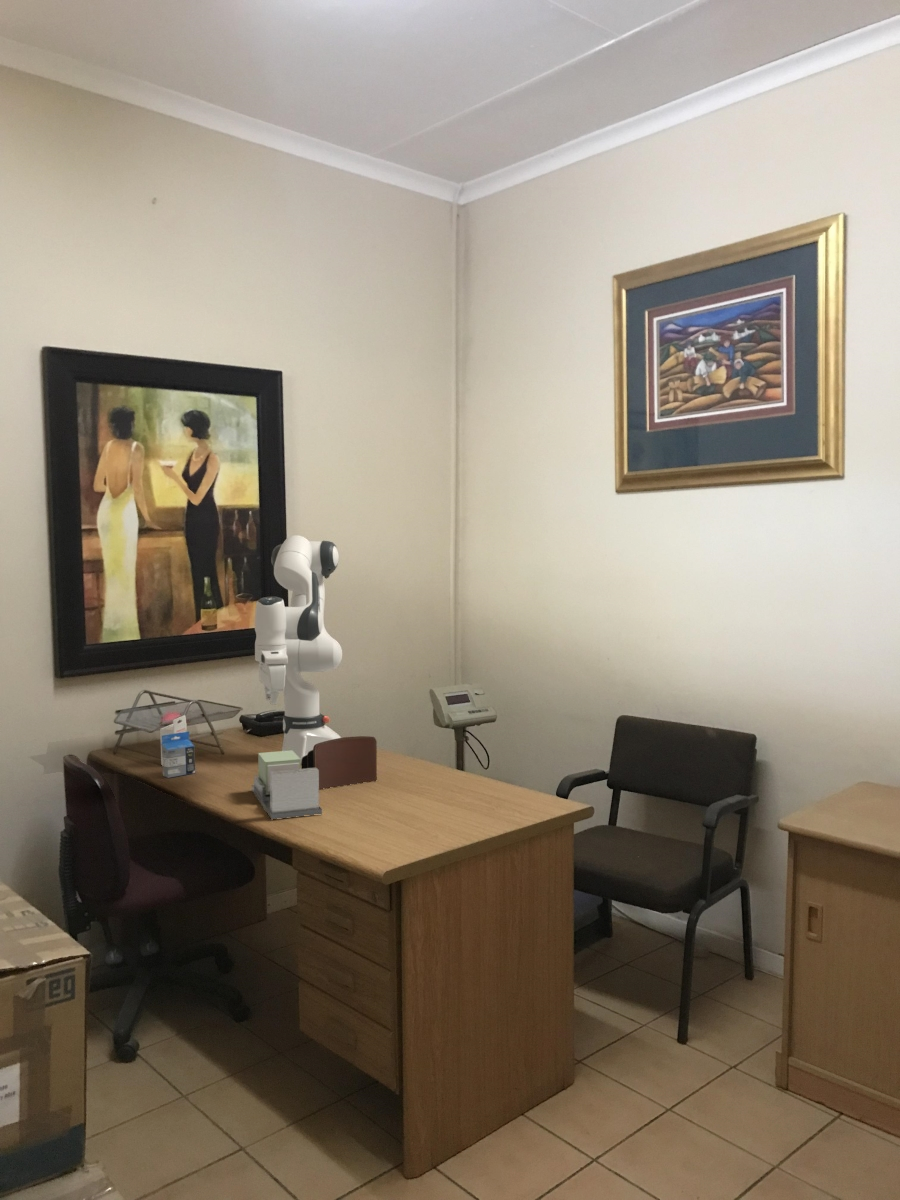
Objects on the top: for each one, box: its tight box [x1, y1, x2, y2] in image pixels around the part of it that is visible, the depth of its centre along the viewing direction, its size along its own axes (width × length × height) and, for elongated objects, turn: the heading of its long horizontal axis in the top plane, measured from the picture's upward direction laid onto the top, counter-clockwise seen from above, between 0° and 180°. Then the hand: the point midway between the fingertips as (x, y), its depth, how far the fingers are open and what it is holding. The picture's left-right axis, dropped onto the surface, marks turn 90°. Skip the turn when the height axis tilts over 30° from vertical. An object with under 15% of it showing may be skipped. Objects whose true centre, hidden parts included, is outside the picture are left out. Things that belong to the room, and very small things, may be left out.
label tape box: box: [161, 730, 196, 779], centre depth 282 cm, size 9×4×12 cm, turn 131°
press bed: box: [251, 768, 323, 820], centre depth 254 cm, size 29×13×12 cm, turn 21°
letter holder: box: [301, 735, 378, 790], centre depth 274 cm, size 10×20×14 cm, turn 121°
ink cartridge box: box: [159, 714, 188, 765], centre depth 295 cm, size 9×5×15 cm, turn 168°
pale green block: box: [257, 750, 302, 795], centre depth 261 cm, size 12×10×9 cm
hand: (271, 702), depth 270 cm, fingers open, 6 cm apart
